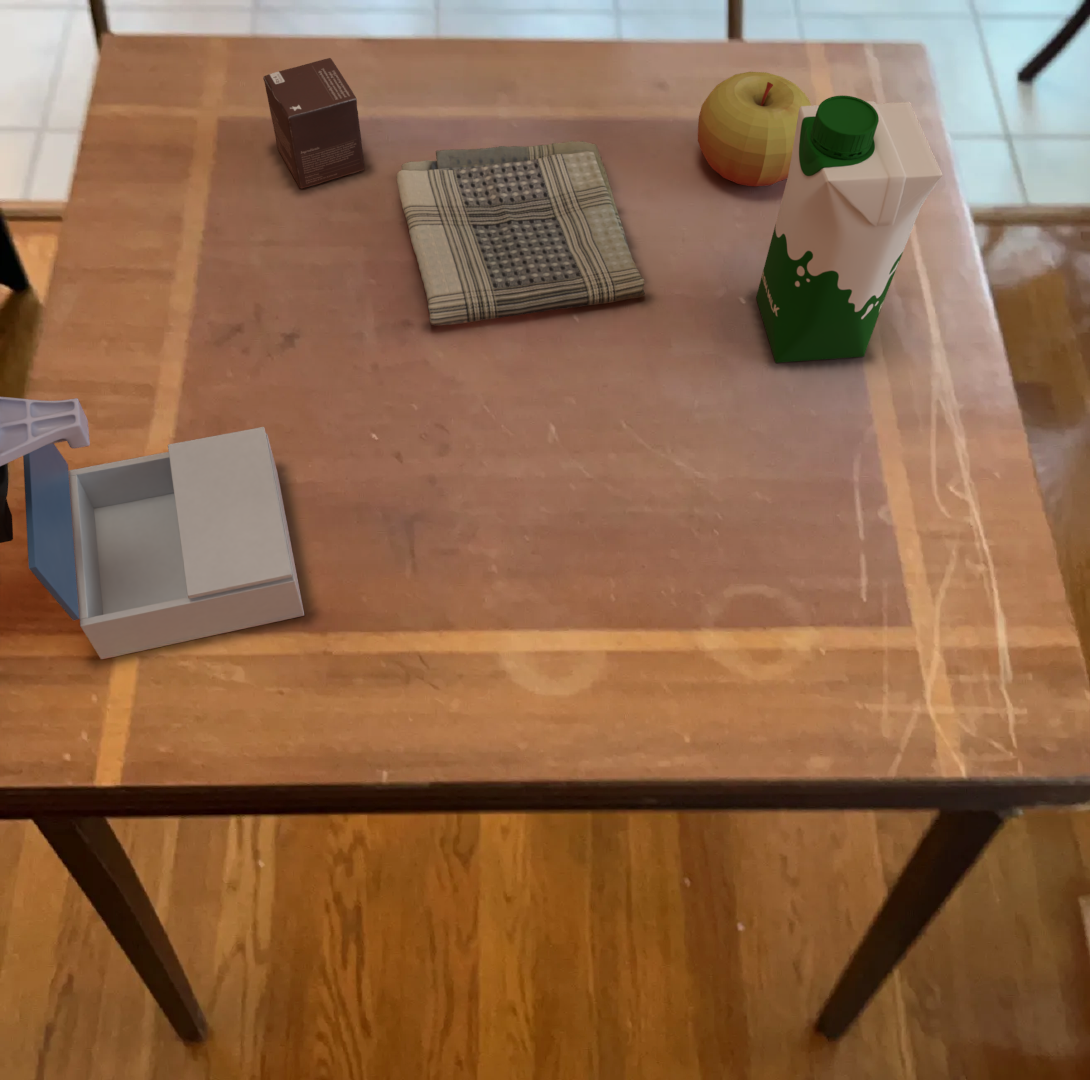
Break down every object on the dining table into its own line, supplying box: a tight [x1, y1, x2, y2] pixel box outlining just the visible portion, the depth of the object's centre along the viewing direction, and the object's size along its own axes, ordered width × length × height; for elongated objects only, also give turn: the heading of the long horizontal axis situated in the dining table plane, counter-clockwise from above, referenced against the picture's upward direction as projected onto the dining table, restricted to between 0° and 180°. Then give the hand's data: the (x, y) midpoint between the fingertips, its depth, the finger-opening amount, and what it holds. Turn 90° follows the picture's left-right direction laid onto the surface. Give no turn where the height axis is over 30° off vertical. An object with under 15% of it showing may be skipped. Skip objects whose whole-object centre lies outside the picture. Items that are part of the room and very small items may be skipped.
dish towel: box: [396, 140, 646, 326], centre depth 95 cm, size 19×18×3 cm
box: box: [262, 57, 366, 189], centre depth 98 cm, size 6×6×7 cm
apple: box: [697, 71, 812, 187], centre depth 99 cm, size 10×10×8 cm
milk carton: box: [755, 95, 944, 364], centre depth 84 cm, size 9×9×20 cm
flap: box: [22, 443, 80, 621], centre depth 71 cm, size 6×12×1 cm
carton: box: [68, 426, 305, 660], centre depth 77 cm, size 13×12×5 cm
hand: (0, 529), depth 71 cm, fingers closed
